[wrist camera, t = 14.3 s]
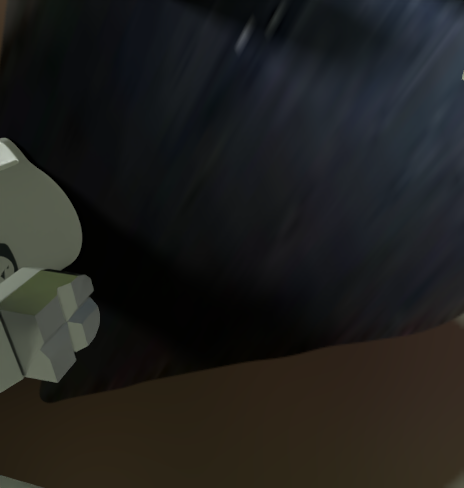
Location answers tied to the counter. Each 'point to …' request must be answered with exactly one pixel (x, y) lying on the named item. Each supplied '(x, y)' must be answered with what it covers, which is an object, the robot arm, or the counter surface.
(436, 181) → the counter surface
